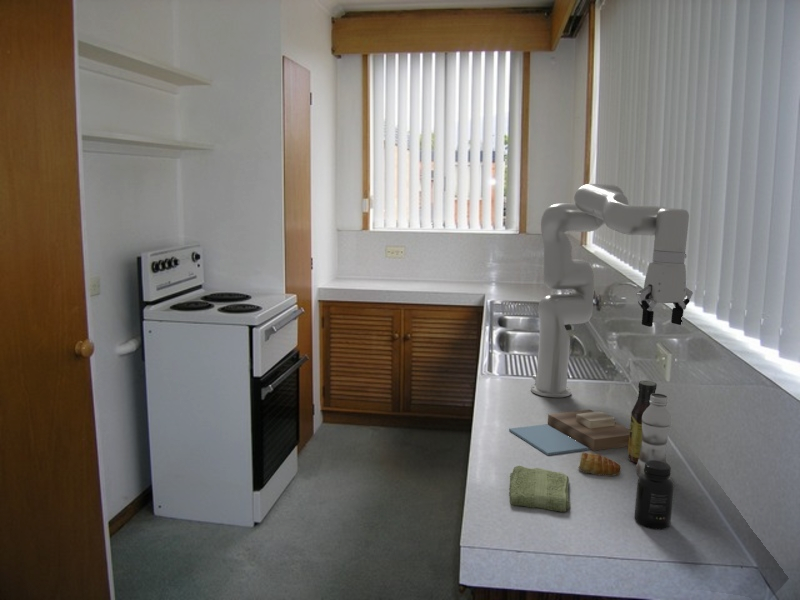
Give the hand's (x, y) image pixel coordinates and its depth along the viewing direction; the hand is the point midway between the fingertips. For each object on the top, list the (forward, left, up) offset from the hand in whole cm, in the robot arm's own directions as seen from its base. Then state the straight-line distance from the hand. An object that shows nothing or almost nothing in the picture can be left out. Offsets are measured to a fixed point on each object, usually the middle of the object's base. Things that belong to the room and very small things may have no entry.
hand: (661, 324), depth 181 cm
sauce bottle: (+10, -12, -31) cm, 35 cm away
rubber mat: (-9, -26, -31) cm, 42 cm away
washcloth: (+17, -46, -32) cm, 59 cm away
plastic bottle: (+20, -18, -31) cm, 41 cm away
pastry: (+11, -26, -32) cm, 42 cm away
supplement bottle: (+36, -32, -31) cm, 57 cm away
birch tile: (-9, -11, -28) cm, 32 cm away
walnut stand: (-9, -12, -31) cm, 35 cm away
